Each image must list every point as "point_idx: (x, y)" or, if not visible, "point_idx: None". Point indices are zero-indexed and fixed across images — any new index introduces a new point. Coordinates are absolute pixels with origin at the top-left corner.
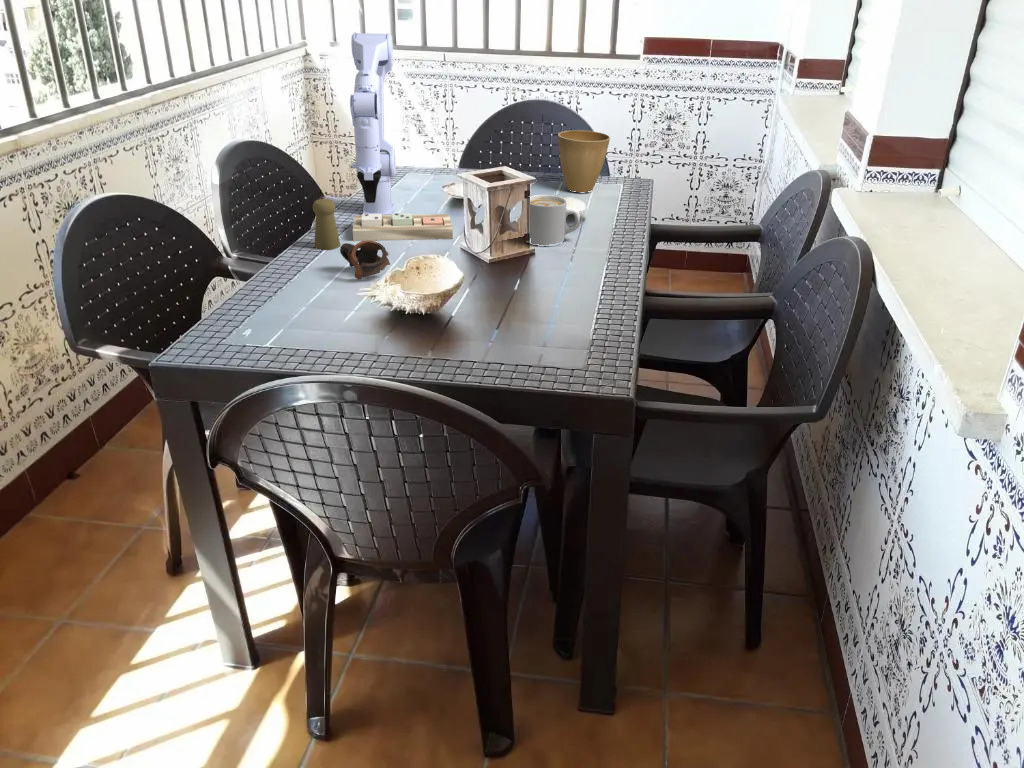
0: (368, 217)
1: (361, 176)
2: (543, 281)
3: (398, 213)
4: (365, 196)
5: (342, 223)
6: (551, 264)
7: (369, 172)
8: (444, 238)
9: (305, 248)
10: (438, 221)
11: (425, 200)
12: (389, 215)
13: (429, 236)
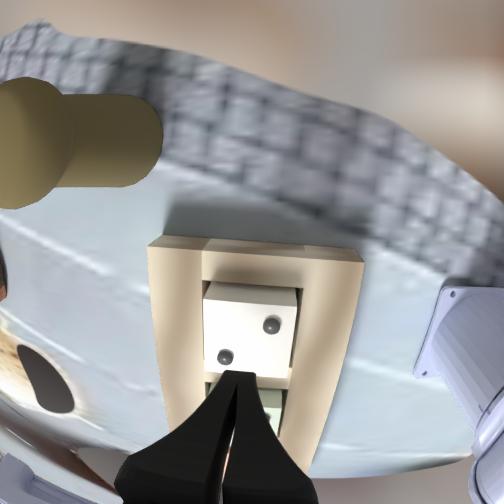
0: (239, 329)
1: (116, 486)
2: (38, 460)
3: (277, 423)
4: (213, 391)
5: (386, 201)
6: (91, 491)
7: (3, 502)
8: None
9: (104, 71)
10: (224, 473)
11: None
12: (330, 386)
13: None
